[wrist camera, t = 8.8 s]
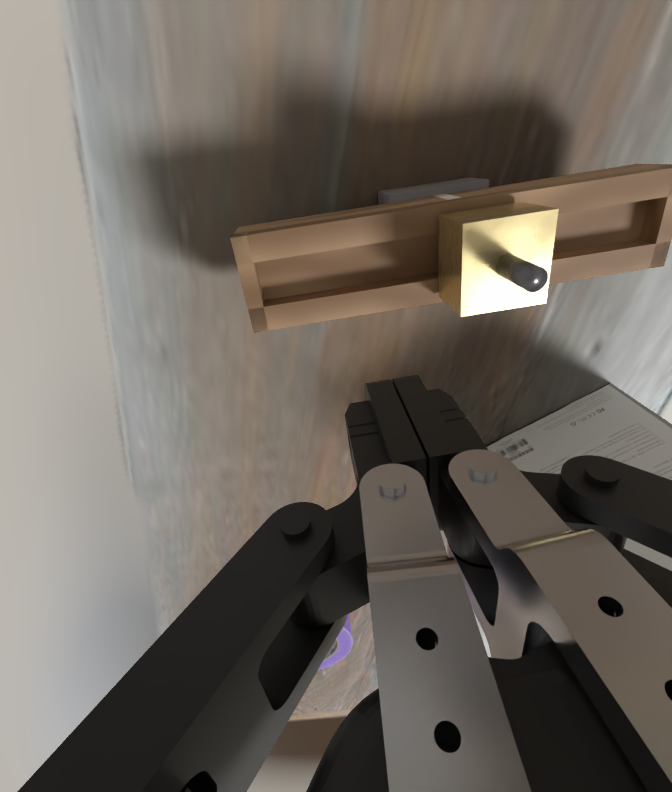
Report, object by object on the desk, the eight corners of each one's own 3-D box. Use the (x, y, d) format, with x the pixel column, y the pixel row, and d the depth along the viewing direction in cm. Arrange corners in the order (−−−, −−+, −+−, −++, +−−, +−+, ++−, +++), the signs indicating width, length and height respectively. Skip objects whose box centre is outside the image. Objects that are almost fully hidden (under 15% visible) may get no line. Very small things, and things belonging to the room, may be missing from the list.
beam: (242, 212, 31) (227, 228, 24) (600, 156, 32) (694, 155, 24) (262, 301, 35) (255, 339, 27) (584, 249, 35) (661, 273, 28)
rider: (430, 211, 26) (487, 233, 18) (509, 199, 26) (596, 215, 18) (431, 290, 28) (481, 336, 21) (503, 278, 28) (577, 320, 21)
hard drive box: (498, 491, 49) (612, 670, 32) (476, 449, 45) (589, 626, 28) (626, 428, 46) (827, 589, 29) (612, 379, 42) (833, 528, 25)
